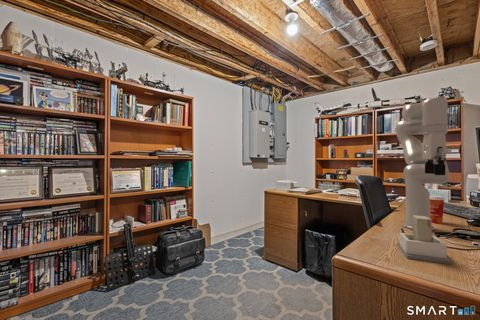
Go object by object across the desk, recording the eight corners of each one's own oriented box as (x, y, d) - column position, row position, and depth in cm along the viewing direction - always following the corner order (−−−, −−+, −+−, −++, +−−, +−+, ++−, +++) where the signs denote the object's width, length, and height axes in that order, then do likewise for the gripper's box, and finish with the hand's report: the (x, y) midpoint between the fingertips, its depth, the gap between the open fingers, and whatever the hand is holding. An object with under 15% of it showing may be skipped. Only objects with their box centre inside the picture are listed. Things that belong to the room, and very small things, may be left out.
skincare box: (432, 255, 81) (432, 219, 81) (417, 253, 83) (417, 218, 82) (426, 248, 87) (426, 215, 87) (412, 246, 88) (412, 214, 88)
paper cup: (422, 220, 129) (422, 195, 129) (435, 220, 130) (435, 195, 130) (435, 224, 121) (435, 197, 121) (449, 224, 122) (449, 197, 122)
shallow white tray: (397, 244, 93) (397, 230, 93) (434, 248, 89) (434, 234, 89) (407, 258, 80) (407, 242, 80) (451, 264, 76) (451, 247, 76)
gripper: (415, 133, 100) (415, 172, 100) (431, 128, 84) (431, 175, 84) (437, 132, 98) (437, 173, 98) (457, 127, 82) (457, 176, 82)
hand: (434, 174), depth 91 cm, fingers open, 9 cm apart
